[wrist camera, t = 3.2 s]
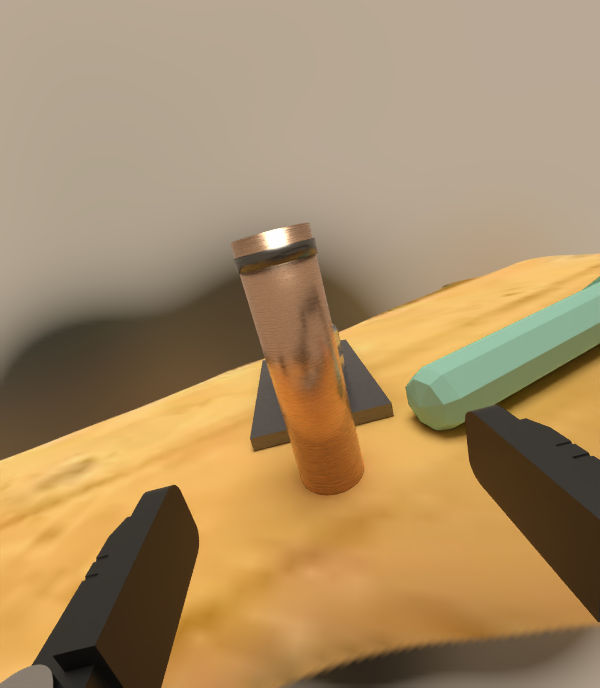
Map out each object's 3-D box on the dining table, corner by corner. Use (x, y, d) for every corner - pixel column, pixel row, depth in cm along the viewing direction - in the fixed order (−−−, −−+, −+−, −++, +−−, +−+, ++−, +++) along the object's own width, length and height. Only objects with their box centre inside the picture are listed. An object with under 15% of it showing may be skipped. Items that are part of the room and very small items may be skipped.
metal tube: (356, 442, 24) (307, 225, 19) (373, 485, 20) (315, 218, 15) (298, 457, 24) (235, 244, 19) (302, 503, 20) (221, 243, 15)
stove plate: (347, 347, 44) (338, 306, 42) (393, 415, 26) (381, 349, 24) (265, 368, 44) (252, 328, 43) (254, 450, 26) (232, 387, 24)
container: (428, 365, 20) (644, 261, 28) (382, 373, 26) (572, 284, 33) (467, 452, 20) (675, 322, 27) (411, 440, 25) (597, 335, 33)
